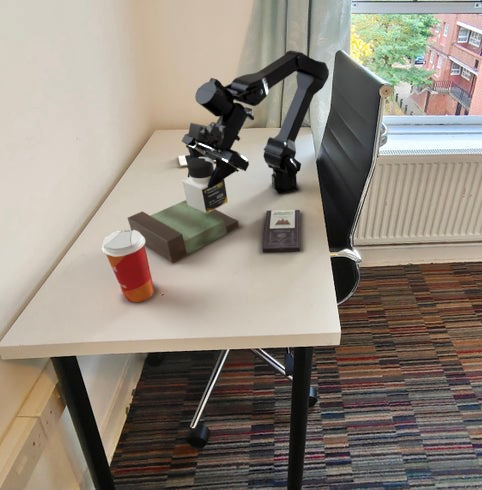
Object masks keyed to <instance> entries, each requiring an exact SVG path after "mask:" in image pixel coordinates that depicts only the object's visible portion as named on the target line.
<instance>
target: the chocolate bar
mask: <svg viewBox="0 0 482 490" xmlns="http://www.w3.org/2000/svg"><path fill="white" fill-rule="evenodd" d="M261 251H262V253H273V252H275V253H276V252H277V253H278V252H300V251H301V210H300V209H274V210H272V209H271V210H266V212H265V222H264V230H263V238H262V247H261Z"/></svg>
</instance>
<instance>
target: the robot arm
mask: <svg viewBox="0 0 482 490" xmlns="http://www.w3.org/2000/svg"><path fill="white" fill-rule="evenodd" d="M295 72H296V77H295V78H296V85H297V88H296V91H295V93H294V95H293V98H292V100H291V103H290V105H289V108H288V110H287V113H286V114H285V118H284V119H283V122H282V125H281V127H280V130H279V131H278V132H279V133H278V134H277V135H276V136H274V137H271V136H269V138H268V139H267V142H266V145H265V146H264V148H263V159H264V162H265V163H266V164H267V167H268V168H269V169H272V174H271V176H270V177H271V186H272V187H271V188H273V190H275V191H276V192H277V194H278V195H282V194H288V193H292V192H293V193H294V192H297V191H299V190H300V188H299V187H298V181H297V175H298V172H300V171H301V167H302V162H300V161H298V160H297V159H296V154H297V151H296V150H297V148H296V140H297V137H298V135H299V132H300V130H301V127H302V125H303V123H304V120H305V118H306V115H307V113H308V110H309V108H310V105H311V103H312V100H313V98H314V96H315V95H316V94H317V93H318V92H319V91H321V90H322V89H323V88H324V87H325V84H326V83H327V81H328V79H329V76H330V69H329V67H328V64H327V63H326V62H324V61H321V60H316V59H313V58H311V57H309V56H308V55H306V54H305V53H303V52H301V51H297V50H292V49H291V50H288V51H286V52H285V53H284V54H283V55H282V56H280V57H279V58H278V59H276V60H275V61H273V62H271V63H270V64H268V65H267V66H265V67H263V68H262V69H260V70H259V71H257V72H253V73H247V74H246V73H245V74H243V75H241V76H238V77H235V78H234V79H232V81H231V82H230V83H229V84H227V85H223V84H222V83H221V81H220V80H218V79H217V78H213V77H210V78H209V81H207V82H205V83H203V84H202V85H200V87H198V88H197V89H196V92H195V96H194V97H195V101H196V103H197V104H198V105H200V106H201V107H203V108H204V109H205V110H206V111H208V112H209V113H211V115H213V116H214V117H218V119H217V121H216V122H214V121H212V122H210V123H209V124H208V125H204V124H199V123H194V122H190V123H189V128H188V133H185V134H184V135H183V137H182V139H181V142H182V143H183V144H184V145H185V148H187V150H188V153H189V155H190V160H191V159H194V158H197V157H207V156H205V155H206V154H208V153H211V154H213V155H216V156H218V157H221V158H222V159H219V158H217V157H216V162H215V166H214V168H215V169H214V171H213V174H212V176H211V178H210V180H209V183H208V187H209V188H212V187H214V186H215V185H216V184H218V183H219V182H221V181H222V180H223V179H224V180H225V179H226V178H227V177H230V176H232V174H234V173H238V172H240V170H241V171H243V172H247V170H248V167H249V166H250V161H249V159H248V158H246V156H243V154H241V153H239V152H238V151H237V150H235V149H232V148H233V146H234V144H235V142H236V141H237V142H240V140H241V137H240V136H239V135H240V133H241V131H242V128H243V126H244V124H245V122H246V121H247V120H250V121H254V120H255V115H254V113H253V109H252V108H250V107H247V106H244V105H248V106H251V107H257V106H258V105H260V104H261V103H262V102H263V101H264V100H265V99H266V98H267V97H268V94H269V91H270V90H271V89H272V88H273V87H274V86H276V85H277V84H279V83H281V82H282V81H283V80H285V79H287V78H288V77H289V76H292V74H293V73H295ZM234 101H235V102H234ZM243 104H244V105H243ZM218 151H220V153H219V152H218ZM204 154H205V155H204ZM207 158H209V157H207ZM189 177H190V176H189V171H187V178H189Z"/></svg>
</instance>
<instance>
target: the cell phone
mask: <svg viewBox="0 0 482 490" xmlns="http://www.w3.org/2000/svg"><path fill="white" fill-rule="evenodd" d="M218 152H219V153H220V151H218ZM204 155H205V154H204ZM205 156H207V157H209V158H210V159H212V160H213V162H214V163H216V157H217V158H219V159H222V158H221V157H218V156H216V155H213V154H211V153H208V154H206V155H205ZM178 161H179V166H180V167H181V168H182V167H188V166H187V163H188V162H189V161H190V154H182V155H178Z"/></svg>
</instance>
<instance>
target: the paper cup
mask: <svg viewBox="0 0 482 490" xmlns="http://www.w3.org/2000/svg"><path fill="white" fill-rule="evenodd" d="M144 244H145V238H144V237H143V236H142V235H141V234H140V233H139V232H138V231H136V230H133V231H131V229H125V230H123V229H120V230H117V231H114V232H111V233H109V234H108V235H106V237H105V238H103V241H102V245H101V250H102V252H103V253H104V254H105V255H106V258H107V260H108V262H109V264H110V267H111V269H112V271H113V273H114V275H115V278H116V280H117V282H118V284H119V287H120V290H121V292H122V293H123V296H124V298H125V299H126V300H127V301H128V302H131V303H140V302H144V301H147V300H148V299H149V298H151V297H152V296H153V295H154V291H155V287H154V283H153V278H152V274H151V273H152V272H151V269H150V268H151V267H150V263H149V258H148V255H147V250H146V246H145V245H144Z"/></svg>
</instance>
